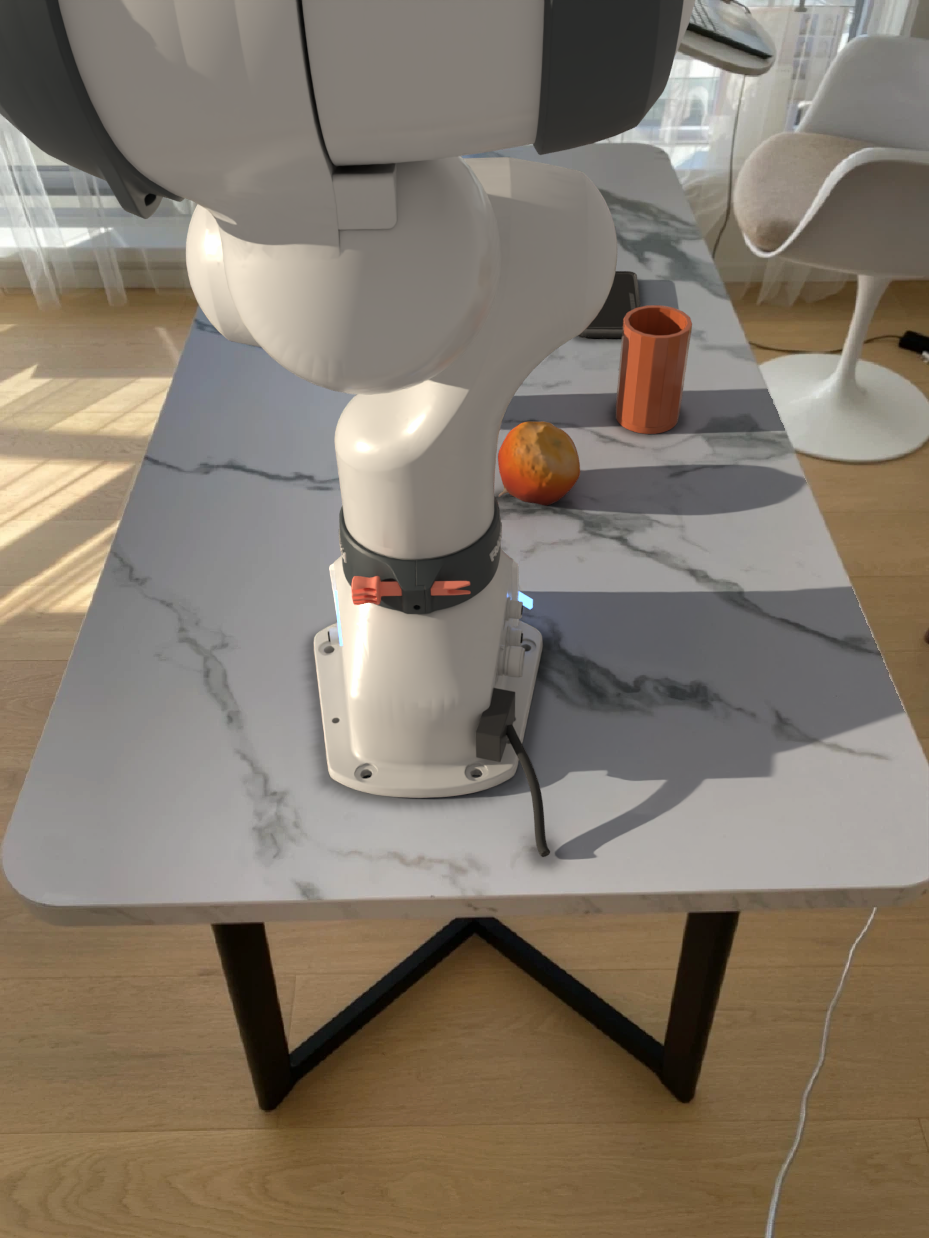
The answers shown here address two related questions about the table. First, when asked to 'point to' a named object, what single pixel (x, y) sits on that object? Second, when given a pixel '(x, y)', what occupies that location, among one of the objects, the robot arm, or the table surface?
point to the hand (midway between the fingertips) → (422, 47)
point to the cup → (652, 368)
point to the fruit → (538, 463)
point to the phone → (615, 307)
